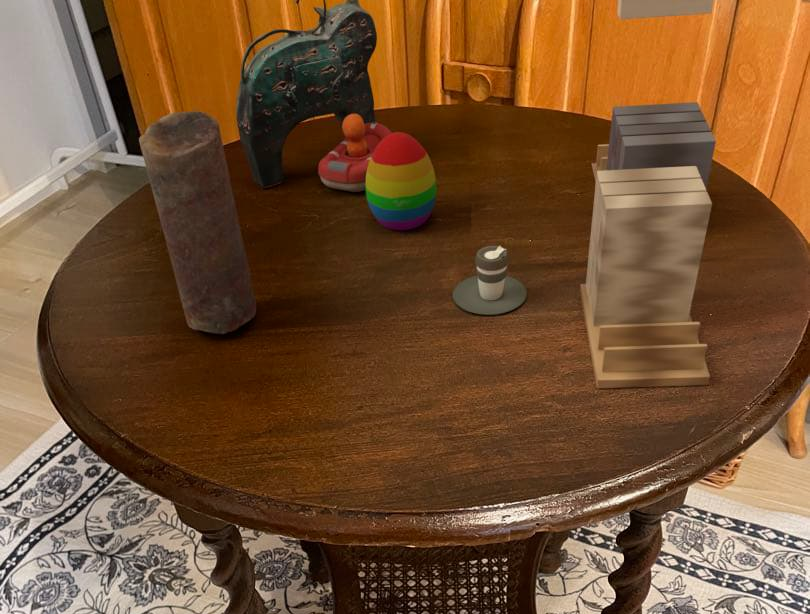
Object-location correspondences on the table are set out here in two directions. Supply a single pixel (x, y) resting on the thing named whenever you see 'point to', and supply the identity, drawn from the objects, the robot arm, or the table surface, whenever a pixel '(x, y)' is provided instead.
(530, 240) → the table surface
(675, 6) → the cream book
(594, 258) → the cream rack
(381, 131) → the toy boat
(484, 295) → the coffee cup
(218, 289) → the brown textured cylinder
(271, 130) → the ceramic cat
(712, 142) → the grey rack
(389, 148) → the decorative egg
